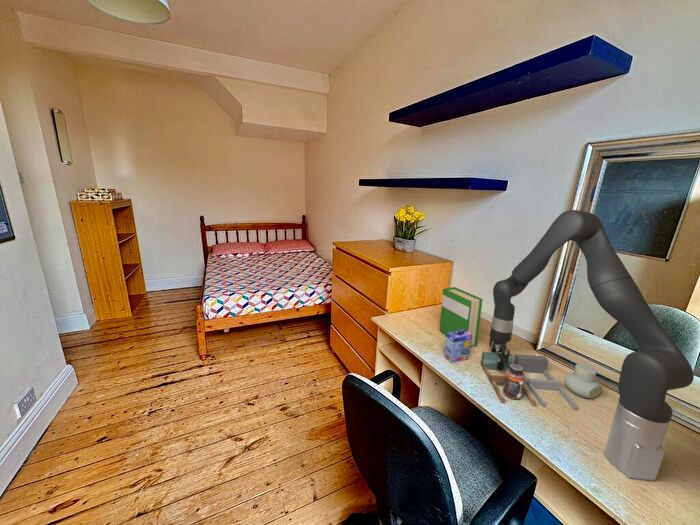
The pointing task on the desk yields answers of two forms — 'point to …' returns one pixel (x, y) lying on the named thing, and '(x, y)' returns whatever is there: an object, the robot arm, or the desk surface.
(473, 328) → the hardback book
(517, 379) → the supplement bottle
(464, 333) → the ink cartridge box
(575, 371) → the air freshener
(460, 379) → the desk surface
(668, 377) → the robot arm
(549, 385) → the charcoal frame
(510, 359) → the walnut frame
